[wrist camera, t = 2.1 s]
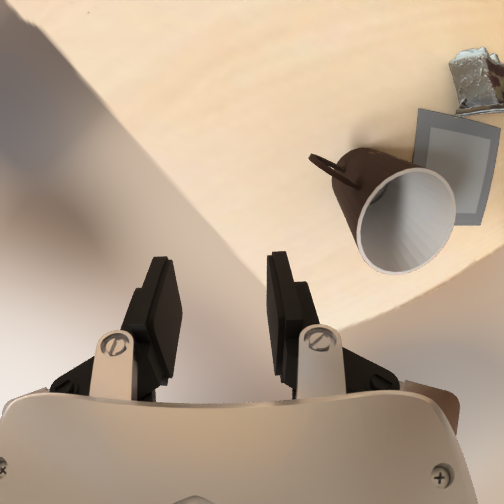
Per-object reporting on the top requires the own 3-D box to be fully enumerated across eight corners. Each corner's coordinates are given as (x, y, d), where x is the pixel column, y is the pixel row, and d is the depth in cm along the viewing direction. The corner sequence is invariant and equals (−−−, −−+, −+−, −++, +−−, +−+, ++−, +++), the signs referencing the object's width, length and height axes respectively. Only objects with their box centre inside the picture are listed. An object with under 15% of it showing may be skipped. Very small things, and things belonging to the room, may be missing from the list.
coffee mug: (411, 189, 29) (465, 235, 21) (346, 233, 32) (382, 293, 23) (360, 93, 24) (418, 105, 15) (284, 143, 26) (309, 177, 18)
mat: (418, 108, 24) (419, 108, 24) (499, 128, 25) (500, 128, 25) (401, 225, 31) (402, 226, 31) (479, 224, 32) (480, 225, 32)
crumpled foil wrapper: (512, 54, 19) (511, 32, 12) (529, 111, 21) (536, 111, 14) (448, 64, 27) (421, 48, 20) (464, 117, 29) (444, 120, 22)
